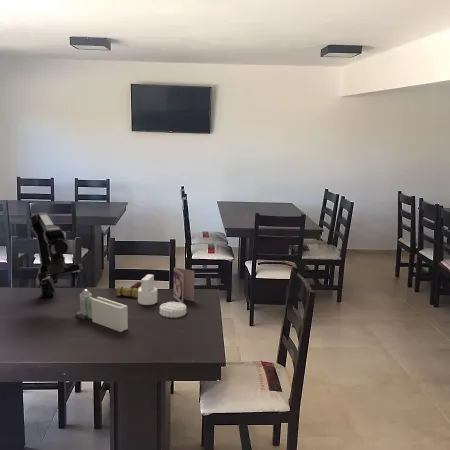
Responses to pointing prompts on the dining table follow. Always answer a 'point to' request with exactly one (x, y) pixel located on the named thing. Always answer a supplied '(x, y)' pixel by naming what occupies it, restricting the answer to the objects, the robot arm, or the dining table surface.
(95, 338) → the dining table surface
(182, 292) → the greeting card
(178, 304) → the mooncake
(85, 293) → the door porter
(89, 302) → the door panel
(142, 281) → the base with upright slab
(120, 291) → the gavel
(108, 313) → the white slotted block
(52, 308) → the dining table surface
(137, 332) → the dining table surface
